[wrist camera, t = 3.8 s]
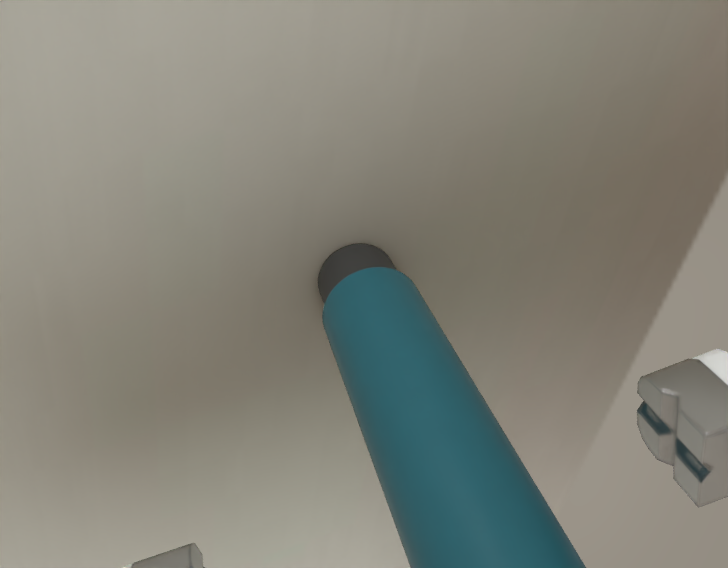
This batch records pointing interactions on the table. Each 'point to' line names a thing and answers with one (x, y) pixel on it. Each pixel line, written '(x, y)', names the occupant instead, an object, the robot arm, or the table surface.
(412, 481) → the marker
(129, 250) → the table surface
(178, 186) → the table surface
